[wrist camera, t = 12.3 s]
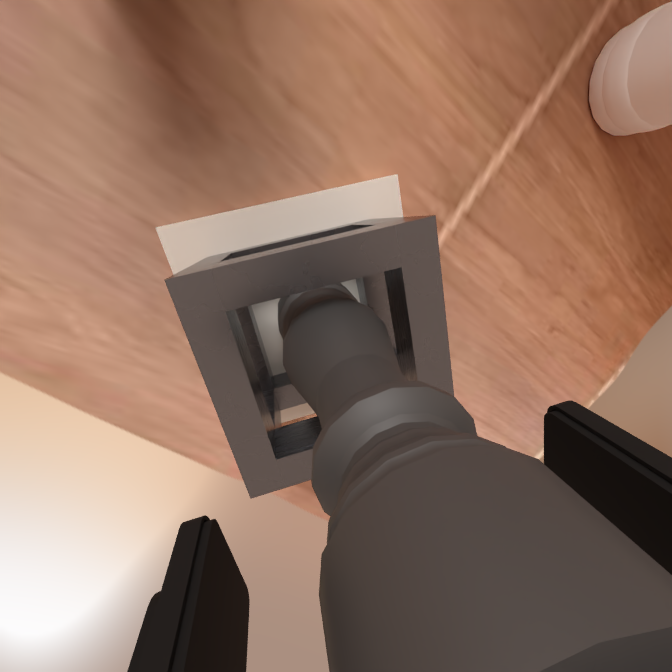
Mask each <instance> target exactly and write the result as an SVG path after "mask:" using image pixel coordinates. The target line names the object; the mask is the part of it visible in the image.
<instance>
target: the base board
mask: <svg viewBox="0 0 672 672" xmlns="http://www.w3.org/2000/svg"><path fill="white" fill-rule="evenodd" d="M396 217H403V211H402V204H401V197H400V189H399V182H398V174H396V175H391V176H386V177H382V178H377V179H373V180H368V181H364V182H359V183H355V184H350V185H346V186H341V187H337V188H332V189H328V190H323V191H319V192H314V193H309V194H305V195H300V196H296V197H291V198H287V199H282V200H278V201H273V202H269V203H264V204H260V205H255V206H251V207H246V208H242V209H237V210H232V211H228V212H223V213H219V214H214V215H210V216H205V217H201V218H196V219H192V220H187V221H183V222H178V223H174V224H169V225H165V226H160V227H156V230H157V233H158V235H159V238H160V241H161V243H162V246H163V249H164V251H165V254H166V256H167V259H168V262H169V264H170V267H171V269H172V272H173V275H174V274H176V273H178V272H180V271H182V270H184V269H186V268H187V267H189V266H191V265H193V264H195V263H197V262H199V261H201V260H202V259H204V258H206V257H209V256H213V255H218V254H222V253H226V252H230V251H235V250H239V249H243V248H248V247H252V246H256V245H260V244H265V243H269V242H273V241H278V240H282V239H286V238H290V237H295V236H299V235H303V234H307V233H312V232H316V231H320V230H325V229H329V228H333V227H337V226H342V225H346V224H350V223H354V222H359V221H363V220H367V219H377V218H396ZM341 284H342V285H343V286H345V287H346V288H347V289H348V290H349V291H350V292H351V294H352V295H353V296H354V297H355V298H356V299H357V301H358V302H359V303H360V299H359V294H358V288H357V283H356V279H353V280H349V281H345V282H341ZM279 300H280V298H278V299H274V300H270V301H266V302H262V303H258V304H254V305H251V306H252V309H253V312H254V316H255V319H256V322H257V325H258V329H259V332H260V335H261V338H262V341H263V345H264V348H265V351H266V354H267V357H268V361H269V364H270V367H271V370H272V373H273V376H274V375H277V374H281V373H285V372H286V370H285V368H284V366H283V339H282V336H281V334H280V332H279V326H278V302H279ZM280 411H281V423H284V422H287V421H291V420H294V419H297V418H301V417H304V416H308V415H311V414H314V413H315V412H314V411H313V409H312V408H311V407H310V406H309V404H308V403H305V404H301V405H298V406H294V407H291V408H287V409H284V410H280Z"/></svg>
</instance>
